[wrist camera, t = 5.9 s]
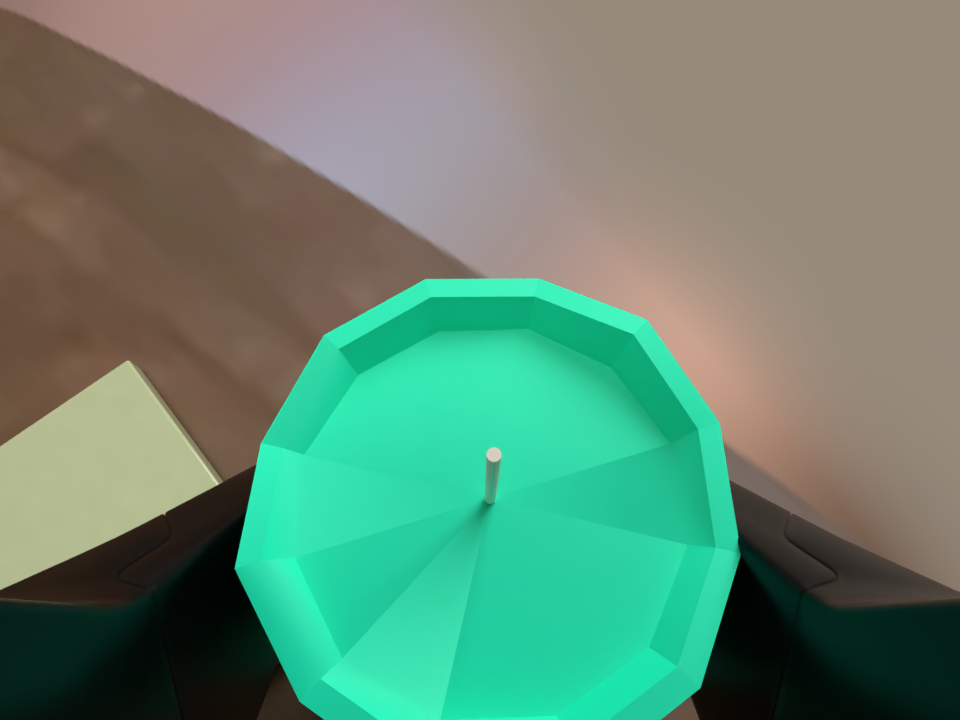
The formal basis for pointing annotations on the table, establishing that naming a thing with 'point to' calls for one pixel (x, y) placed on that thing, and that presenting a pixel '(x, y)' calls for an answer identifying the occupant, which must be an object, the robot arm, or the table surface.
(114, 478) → the tile
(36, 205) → the table surface
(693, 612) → the candle
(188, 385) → the table surface
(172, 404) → the table surface
